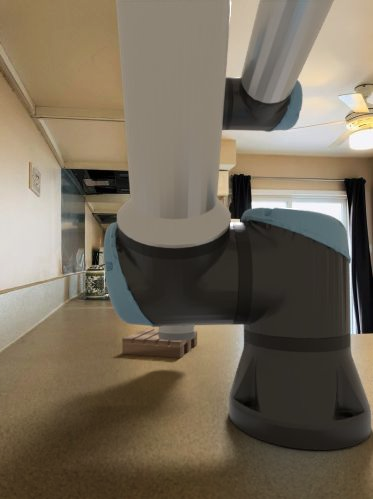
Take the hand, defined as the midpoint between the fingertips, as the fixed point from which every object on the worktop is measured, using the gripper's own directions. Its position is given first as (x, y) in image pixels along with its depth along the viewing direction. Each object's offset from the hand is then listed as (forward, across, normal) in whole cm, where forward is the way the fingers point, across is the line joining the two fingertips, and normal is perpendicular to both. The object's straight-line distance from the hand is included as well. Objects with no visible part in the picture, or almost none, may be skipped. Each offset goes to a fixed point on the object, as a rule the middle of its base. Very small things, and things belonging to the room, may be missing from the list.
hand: (176, 314), depth 63 cm
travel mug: (+4, 0, 0) cm, 4 cm away
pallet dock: (+9, +7, -12) cm, 16 cm away
